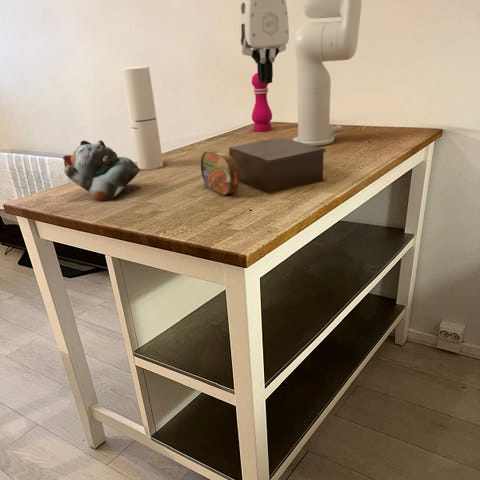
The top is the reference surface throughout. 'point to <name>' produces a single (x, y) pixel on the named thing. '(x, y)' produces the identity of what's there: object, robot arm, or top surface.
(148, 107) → the cylindrical container
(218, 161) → the tin
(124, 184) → the lucky cat figurine
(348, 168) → the top surface
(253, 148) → the lid
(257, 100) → the pepper mill
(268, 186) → the chest
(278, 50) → the robot arm
